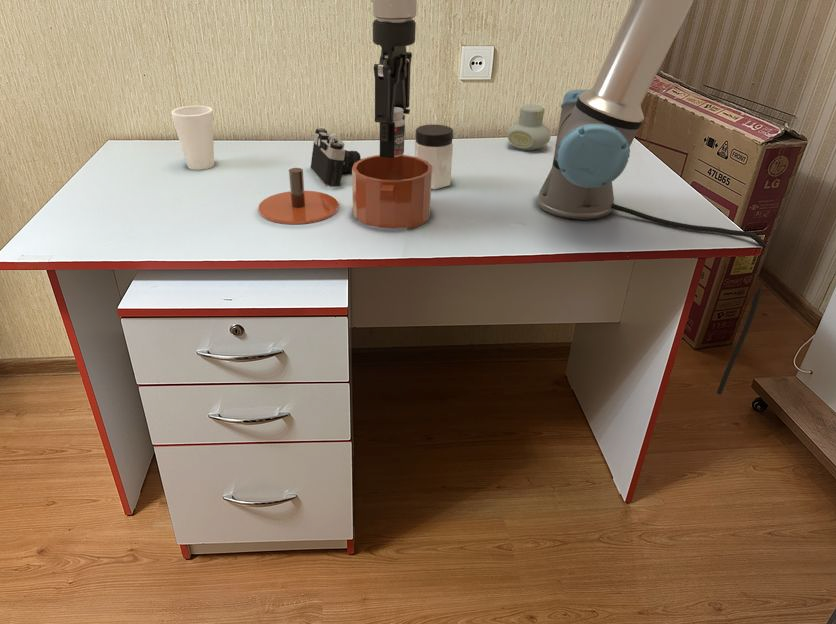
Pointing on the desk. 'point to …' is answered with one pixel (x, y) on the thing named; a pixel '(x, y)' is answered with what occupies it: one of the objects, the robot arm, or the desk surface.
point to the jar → (436, 152)
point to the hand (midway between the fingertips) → (391, 152)
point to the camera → (331, 158)
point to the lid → (298, 203)
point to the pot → (392, 191)
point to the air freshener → (529, 129)
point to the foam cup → (195, 135)
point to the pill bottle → (399, 131)
